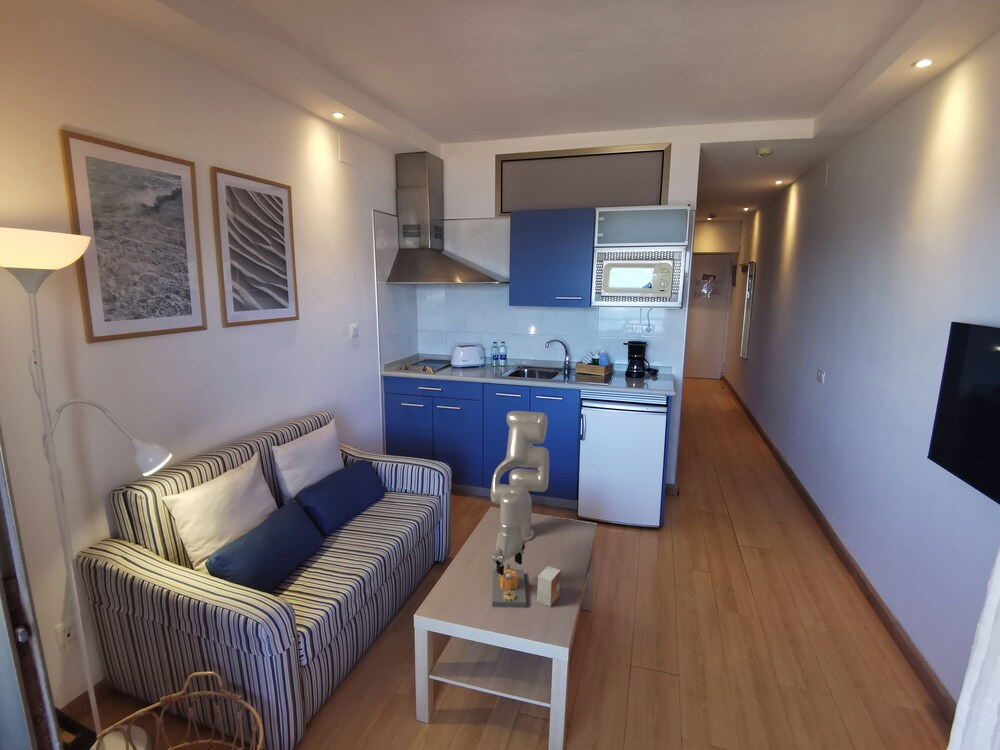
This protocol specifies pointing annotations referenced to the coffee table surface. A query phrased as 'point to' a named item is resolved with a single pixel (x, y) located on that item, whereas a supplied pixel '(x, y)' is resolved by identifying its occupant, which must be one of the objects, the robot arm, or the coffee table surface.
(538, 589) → the small box
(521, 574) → the board
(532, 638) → the coffee table surface
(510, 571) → the gear
